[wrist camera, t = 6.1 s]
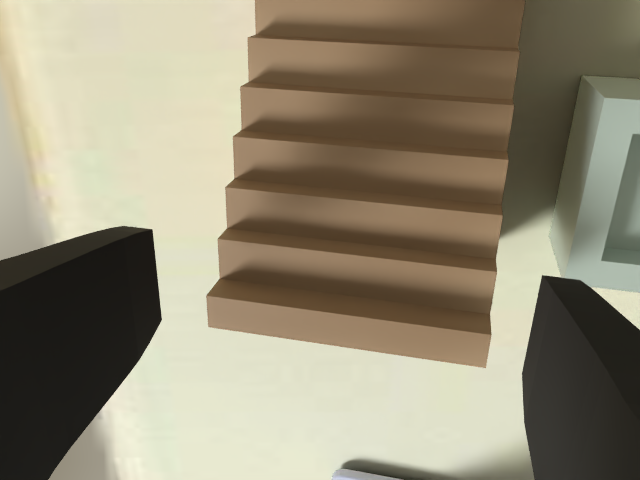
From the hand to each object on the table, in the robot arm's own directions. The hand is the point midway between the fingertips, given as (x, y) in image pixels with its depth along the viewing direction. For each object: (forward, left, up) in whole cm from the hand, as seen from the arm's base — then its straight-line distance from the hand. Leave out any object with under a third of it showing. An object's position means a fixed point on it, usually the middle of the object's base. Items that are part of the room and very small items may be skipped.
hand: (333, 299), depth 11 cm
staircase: (+2, 0, -7) cm, 7 cm away
